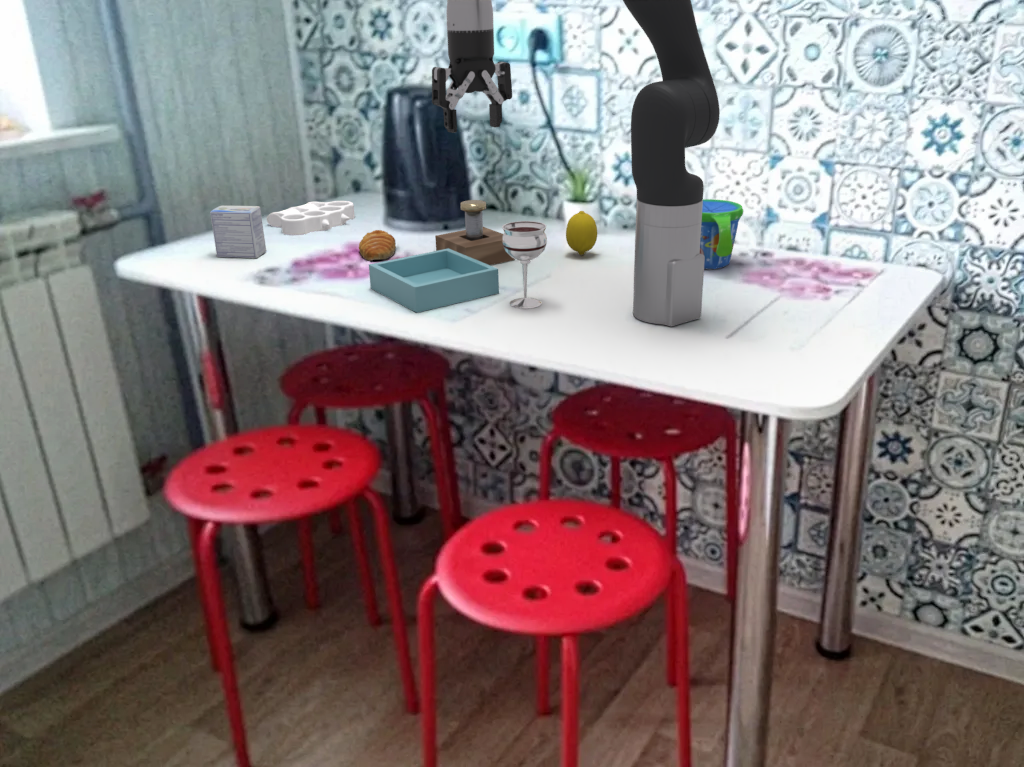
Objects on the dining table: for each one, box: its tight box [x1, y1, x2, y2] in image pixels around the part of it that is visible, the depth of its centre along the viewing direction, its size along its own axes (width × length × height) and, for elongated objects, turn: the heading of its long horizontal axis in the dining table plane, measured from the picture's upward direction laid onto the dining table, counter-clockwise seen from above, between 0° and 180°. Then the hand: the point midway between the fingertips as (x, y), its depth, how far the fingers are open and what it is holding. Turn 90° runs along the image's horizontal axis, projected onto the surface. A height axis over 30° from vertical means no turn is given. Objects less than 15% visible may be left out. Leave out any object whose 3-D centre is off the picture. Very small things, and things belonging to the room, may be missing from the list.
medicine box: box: [209, 205, 267, 259], centre depth 175 cm, size 8×4×9 cm, turn 80°
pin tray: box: [368, 248, 500, 314], centre depth 154 cm, size 15×15×4 cm
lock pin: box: [460, 199, 487, 241], centre depth 169 cm, size 4×4×10 cm
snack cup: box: [700, 198, 744, 270], centre depth 163 cm, size 16×10×10 cm
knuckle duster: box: [266, 200, 355, 236], centre depth 196 cm, size 3×18×15 cm
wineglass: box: [501, 220, 548, 309], centre depth 146 cm, size 7×7×12 cm
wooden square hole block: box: [435, 226, 516, 266], centre depth 170 cm, size 10×10×4 cm
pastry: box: [358, 229, 397, 262], centre depth 174 cm, size 9×7×4 cm
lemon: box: [565, 210, 598, 256], centre depth 170 cm, size 6×6×8 cm
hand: (473, 129), depth 163 cm, fingers open, 8 cm apart
